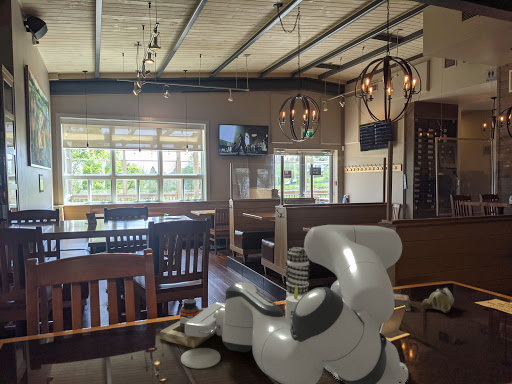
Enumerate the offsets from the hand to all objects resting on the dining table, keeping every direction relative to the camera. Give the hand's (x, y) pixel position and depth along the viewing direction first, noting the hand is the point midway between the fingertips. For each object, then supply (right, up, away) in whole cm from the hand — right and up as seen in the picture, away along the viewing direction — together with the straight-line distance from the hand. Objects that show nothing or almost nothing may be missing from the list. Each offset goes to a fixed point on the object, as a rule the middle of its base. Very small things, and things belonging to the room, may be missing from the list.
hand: (187, 315), depth 125 cm
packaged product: (+75, -7, +33) cm, 82 cm away
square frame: (+1, -7, 0) cm, 7 cm away
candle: (+35, -7, +6) cm, 36 cm away
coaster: (+7, -7, -15) cm, 18 cm away
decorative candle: (+37, -6, +20) cm, 43 cm away
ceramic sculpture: (+95, -7, +29) cm, 99 cm away
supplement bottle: (+1, -7, 0) cm, 7 cm away
